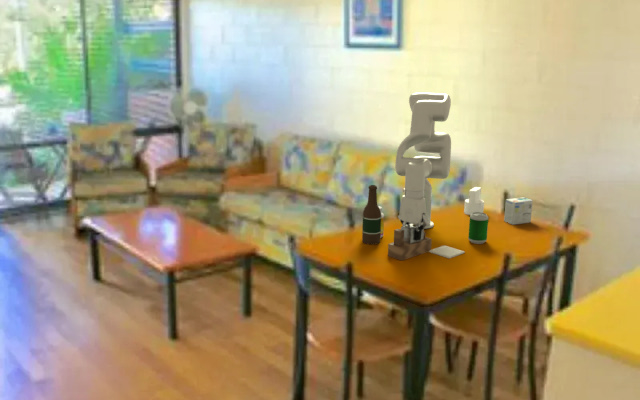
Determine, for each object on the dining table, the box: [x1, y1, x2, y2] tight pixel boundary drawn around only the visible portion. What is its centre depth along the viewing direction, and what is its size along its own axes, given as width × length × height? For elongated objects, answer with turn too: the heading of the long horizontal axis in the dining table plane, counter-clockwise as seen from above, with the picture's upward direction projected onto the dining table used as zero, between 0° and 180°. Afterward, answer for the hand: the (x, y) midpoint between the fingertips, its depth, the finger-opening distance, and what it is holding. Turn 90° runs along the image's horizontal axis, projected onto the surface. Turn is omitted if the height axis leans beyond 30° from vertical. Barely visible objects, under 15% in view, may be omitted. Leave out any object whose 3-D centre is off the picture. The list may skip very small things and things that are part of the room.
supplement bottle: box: [378, 205, 385, 239], centre depth 286 cm, size 7×7×13 cm
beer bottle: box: [361, 184, 382, 245], centre depth 277 cm, size 8×8×24 cm
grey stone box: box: [400, 224, 425, 244], centre depth 265 cm, size 8×5×7 cm, turn 132°
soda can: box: [468, 212, 489, 245], centre depth 280 cm, size 8×8×12 cm
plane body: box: [387, 228, 433, 261], centre depth 265 cm, size 18×7×11 cm, turn 133°
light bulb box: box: [503, 196, 533, 225], centre depth 309 cm, size 11×7×11 cm, turn 114°
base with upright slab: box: [463, 186, 485, 216], centre depth 323 cm, size 9×9×12 cm
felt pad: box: [428, 245, 466, 259], centre depth 268 cm, size 10×10×1 cm
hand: (412, 237), depth 265 cm, fingers closed on grey stone box, 5 cm apart
